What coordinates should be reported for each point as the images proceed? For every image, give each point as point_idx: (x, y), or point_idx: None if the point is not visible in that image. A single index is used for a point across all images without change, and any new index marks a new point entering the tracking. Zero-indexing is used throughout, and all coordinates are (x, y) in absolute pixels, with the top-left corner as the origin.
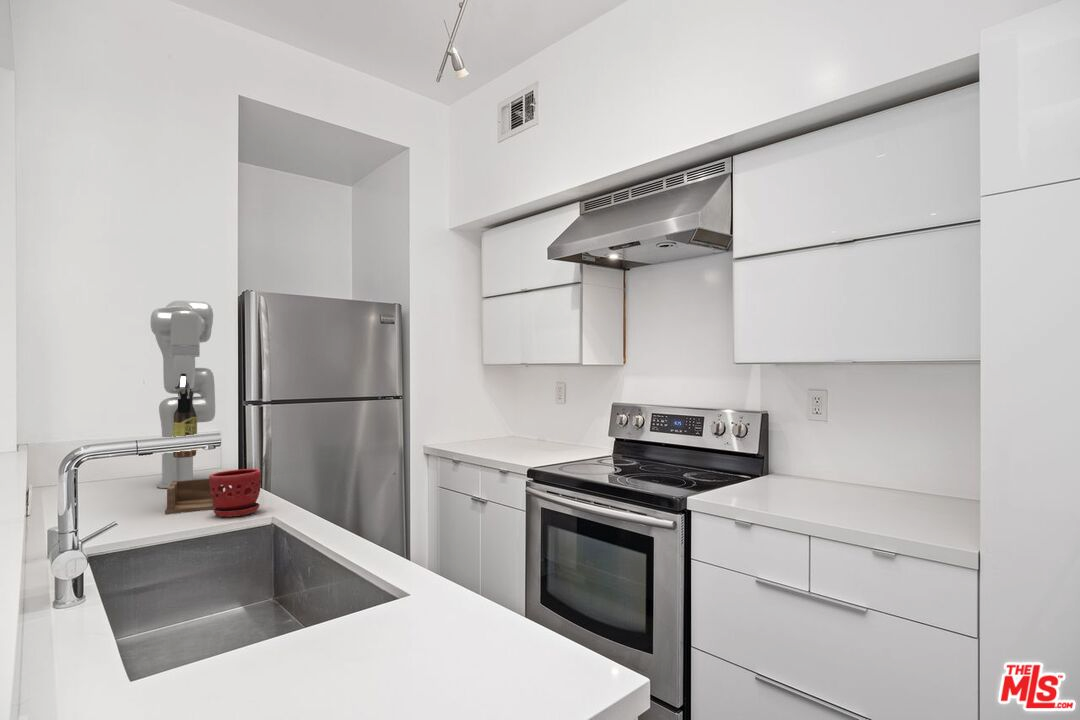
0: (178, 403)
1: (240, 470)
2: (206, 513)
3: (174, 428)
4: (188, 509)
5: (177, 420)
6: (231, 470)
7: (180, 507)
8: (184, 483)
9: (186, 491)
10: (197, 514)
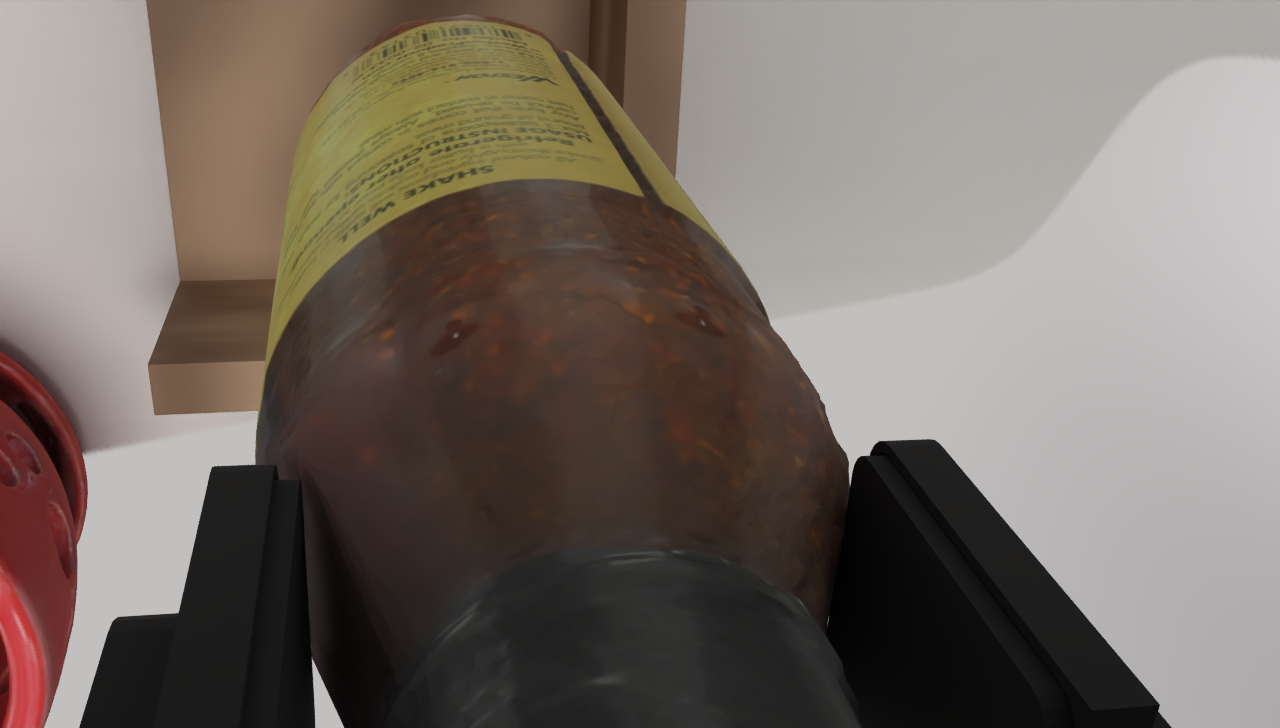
0: (171, 674)
1: (8, 701)
2: (20, 227)
3: (379, 174)
4: (156, 76)
5: (314, 321)
6: (3, 628)
7: (241, 1)
8: (622, 52)
9: (605, 53)
10: (5, 155)
